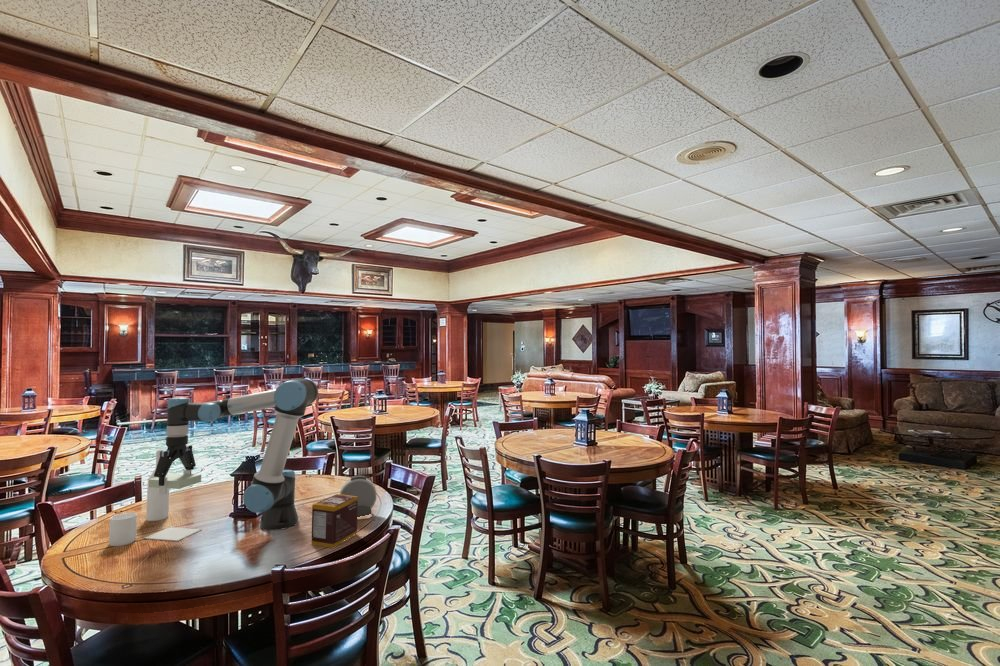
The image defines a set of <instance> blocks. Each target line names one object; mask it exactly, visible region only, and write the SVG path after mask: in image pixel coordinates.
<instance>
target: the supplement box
mask: <svg viewBox="0 0 1000 666" xmlns="http://www.w3.org/2000/svg"><path fill="white" fill-rule="evenodd" d="M311 506H312V507H311V508H312V509H311V545H312V546H318V547H324V548H329V547H330V549H334V548H336V547H338V546H339V545H338V544H340V543H341V542H343V541H344V540H346V539H348V538H349V537H351V536H353V535H354V534H356V533H357V534H358V520H357V507H358V496H350V495H342V494H340V493H336V494H334V495H332V496H329V497H327V498H324V499H322V500H319V501H317V502H314V503H313V504H312V505H311ZM348 540H349V539H348ZM343 543H344V542H343ZM341 544H342V543H341ZM341 544H340V545H341ZM337 545H338V546H337ZM335 546H336V547H335ZM333 547H334V548H333Z"/></svg>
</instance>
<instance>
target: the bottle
mask: <svg viewBox="0 0 1000 666" xmlns="http://www.w3.org/2000/svg"><path fill="white" fill-rule="evenodd" d="M161 451H165V450H163V449H157V450H156V457H155V459H156V460H155V468H154V470H153V471H152V473H151V474H150V476H149V477H148V480H147V491H146V492H147V493H146V494H147V495H146V513H145V514H146V517H145V519H146V521H147V522H157V521H162V520H165V519H167V518H168V517H169V509H170V508H169V506H170V488H167V494H159V488H155V487H149V479H153V478H156V477H154V474H155V471H156V468H157V464H158V461H159V458H160V452H161ZM158 474H159V473H158Z"/></svg>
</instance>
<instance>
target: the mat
mask: <svg viewBox="0 0 1000 666" xmlns="http://www.w3.org/2000/svg"><path fill="white" fill-rule="evenodd" d="M200 531H202V529H201V528H200V529H199V528H187V527H186V528H185V527H175V526H174V527H173V526H169V527H167V528H164V529H161V530H160V531H157V532H155V533H153V534H151V535H148V536H145V537H144V540H154V541H155V540H156V541H166V542H167V541H169V542H179V541H182V540H183V539H185V538H188V537H190V536H192V535H194V534H197V533H198V532H200Z"/></svg>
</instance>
